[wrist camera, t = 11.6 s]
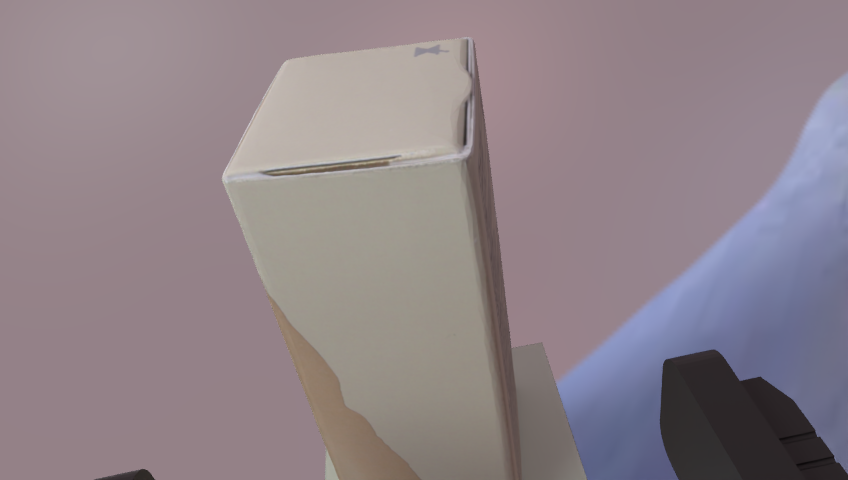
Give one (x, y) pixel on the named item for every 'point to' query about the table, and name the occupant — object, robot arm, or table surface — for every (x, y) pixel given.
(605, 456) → the table surface
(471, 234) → the box
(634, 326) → the table surface
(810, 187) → the table surface
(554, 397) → the tower top
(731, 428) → the robot arm
